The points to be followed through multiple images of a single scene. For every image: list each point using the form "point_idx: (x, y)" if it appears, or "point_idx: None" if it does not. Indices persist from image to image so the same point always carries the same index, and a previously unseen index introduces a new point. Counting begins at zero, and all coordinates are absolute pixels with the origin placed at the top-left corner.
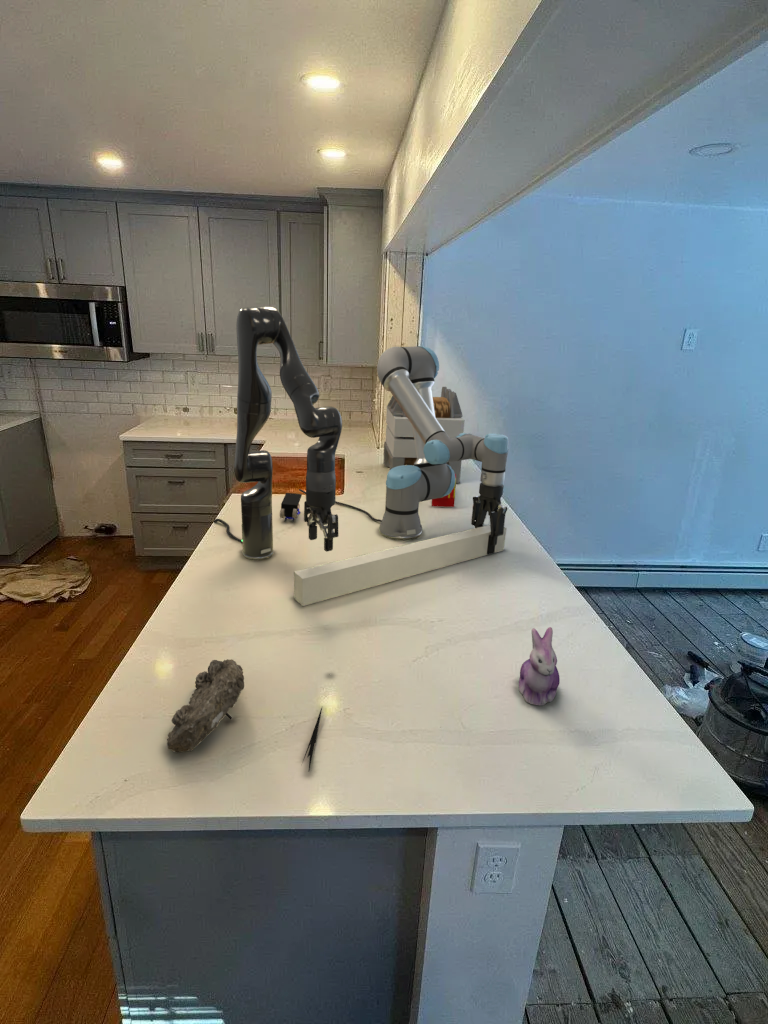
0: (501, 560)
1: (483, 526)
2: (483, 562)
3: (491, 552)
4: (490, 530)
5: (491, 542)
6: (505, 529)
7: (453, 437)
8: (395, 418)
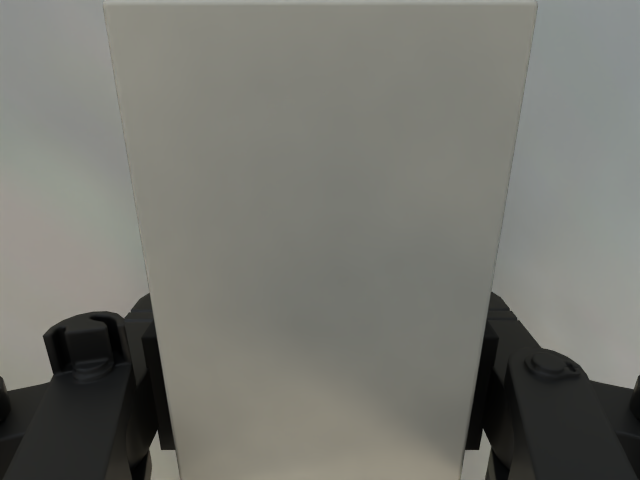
0: (546, 252)
1: (183, 411)
2: None
3: None
4: (413, 436)
5: None
6: (519, 44)
7: None
8: None
